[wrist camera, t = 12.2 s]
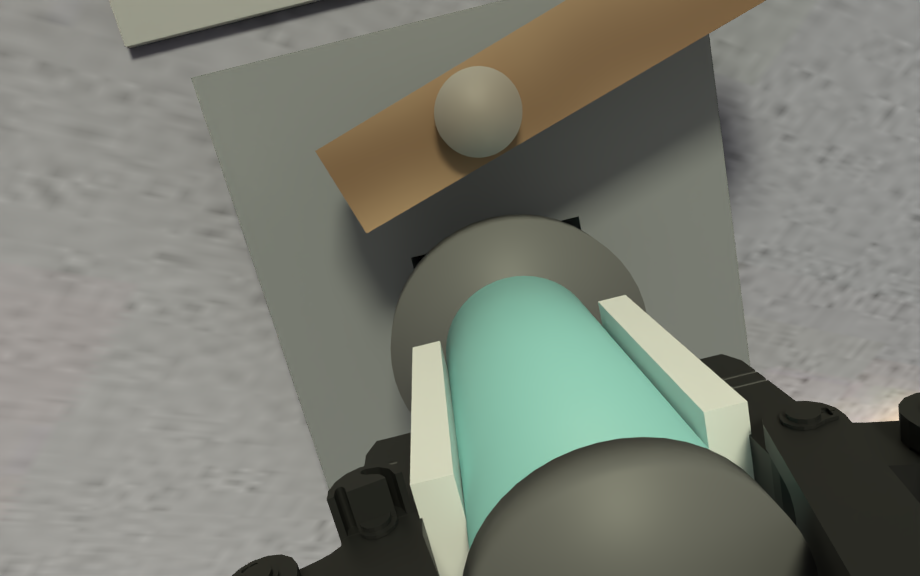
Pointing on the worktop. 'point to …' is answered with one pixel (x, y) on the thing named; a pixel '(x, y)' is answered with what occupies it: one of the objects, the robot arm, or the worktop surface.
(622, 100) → the socket block
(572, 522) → the plug
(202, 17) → the mat
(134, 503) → the worktop surface
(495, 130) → the brown wooden lever
